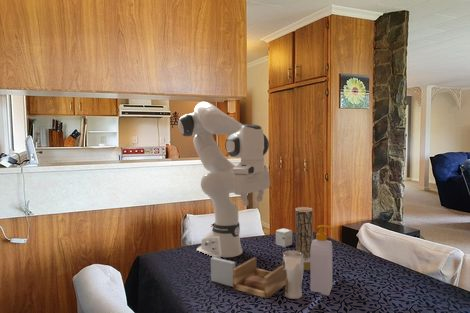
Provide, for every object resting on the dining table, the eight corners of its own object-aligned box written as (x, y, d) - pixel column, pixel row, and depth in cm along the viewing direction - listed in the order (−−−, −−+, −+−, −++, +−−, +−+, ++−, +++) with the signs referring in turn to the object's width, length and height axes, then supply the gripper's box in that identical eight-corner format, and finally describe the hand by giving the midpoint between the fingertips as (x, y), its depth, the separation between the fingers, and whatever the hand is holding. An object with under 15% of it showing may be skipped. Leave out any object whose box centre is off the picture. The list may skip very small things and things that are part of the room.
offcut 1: (245, 283, 122) (245, 279, 122) (250, 279, 125) (250, 275, 125) (266, 288, 118) (266, 283, 117) (271, 284, 121) (271, 279, 121)
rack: (233, 291, 122) (232, 269, 121) (254, 277, 133) (253, 257, 133) (267, 301, 114) (267, 277, 113) (286, 286, 125) (286, 264, 125)
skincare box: (275, 244, 174) (275, 230, 173) (283, 242, 178) (283, 227, 177) (285, 247, 169) (284, 232, 169) (292, 244, 173) (292, 230, 173)
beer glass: (281, 293, 119) (280, 250, 119) (300, 292, 120) (300, 249, 119) (285, 302, 112) (285, 257, 112) (306, 301, 113) (306, 256, 112)
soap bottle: (331, 296, 116) (330, 229, 115) (310, 293, 119) (309, 228, 118) (334, 286, 124) (334, 223, 123) (315, 283, 127) (314, 221, 126)
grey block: (211, 282, 129) (210, 258, 128) (214, 280, 130) (213, 257, 130) (233, 288, 123) (232, 263, 123) (235, 286, 125) (235, 262, 124)
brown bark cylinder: (313, 273, 136) (312, 210, 135) (295, 272, 138) (295, 210, 136) (313, 266, 143) (312, 207, 142) (296, 265, 144) (295, 206, 143)
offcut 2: (243, 287, 123) (243, 282, 123) (249, 283, 126) (249, 278, 126) (265, 293, 118) (265, 288, 117) (271, 288, 121) (271, 284, 121)
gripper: (260, 164, 141) (260, 198, 142) (229, 169, 125) (230, 206, 126) (273, 165, 137) (273, 199, 138) (244, 170, 121) (244, 209, 122)
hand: (252, 203), depth 132 cm, fingers open, 8 cm apart
